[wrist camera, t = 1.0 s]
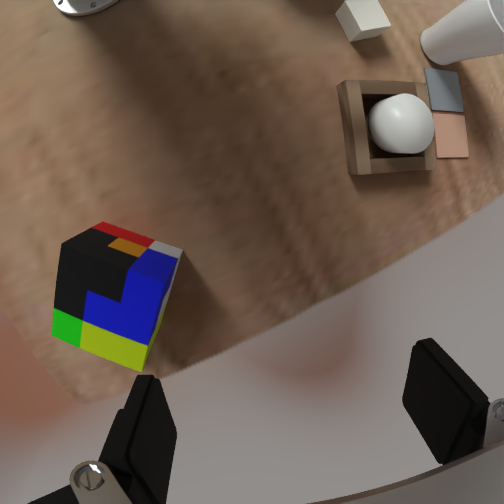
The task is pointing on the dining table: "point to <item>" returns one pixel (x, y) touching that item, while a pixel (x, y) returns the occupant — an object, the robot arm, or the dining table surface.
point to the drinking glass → (466, 32)
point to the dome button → (401, 124)
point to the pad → (450, 135)
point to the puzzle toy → (113, 292)
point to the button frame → (357, 132)
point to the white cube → (362, 19)
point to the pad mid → (443, 90)
